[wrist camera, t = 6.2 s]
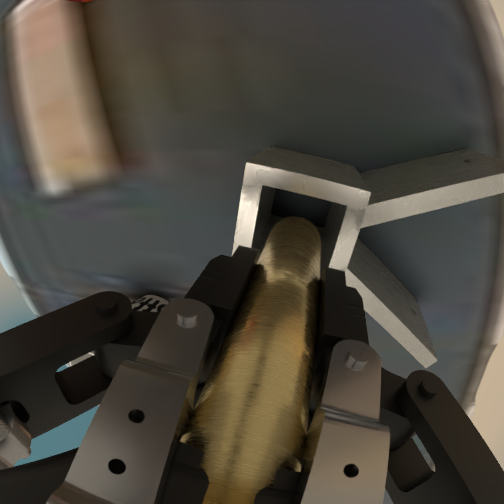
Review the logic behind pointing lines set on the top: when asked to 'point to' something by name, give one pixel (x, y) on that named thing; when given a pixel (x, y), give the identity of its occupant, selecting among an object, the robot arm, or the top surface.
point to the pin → (262, 372)
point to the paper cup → (80, 0)
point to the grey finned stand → (366, 218)
